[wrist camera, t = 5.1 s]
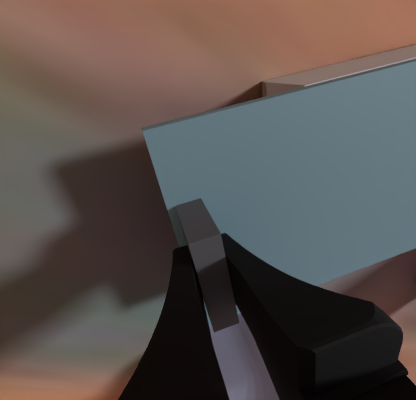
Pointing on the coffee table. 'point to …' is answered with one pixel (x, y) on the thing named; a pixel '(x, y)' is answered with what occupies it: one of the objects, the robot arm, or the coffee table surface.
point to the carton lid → (294, 180)
